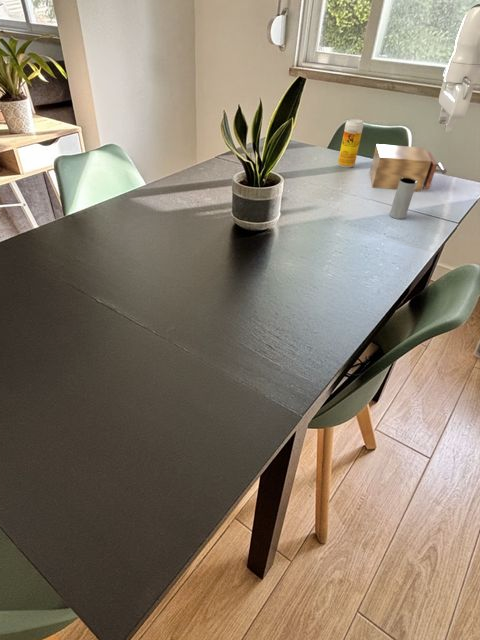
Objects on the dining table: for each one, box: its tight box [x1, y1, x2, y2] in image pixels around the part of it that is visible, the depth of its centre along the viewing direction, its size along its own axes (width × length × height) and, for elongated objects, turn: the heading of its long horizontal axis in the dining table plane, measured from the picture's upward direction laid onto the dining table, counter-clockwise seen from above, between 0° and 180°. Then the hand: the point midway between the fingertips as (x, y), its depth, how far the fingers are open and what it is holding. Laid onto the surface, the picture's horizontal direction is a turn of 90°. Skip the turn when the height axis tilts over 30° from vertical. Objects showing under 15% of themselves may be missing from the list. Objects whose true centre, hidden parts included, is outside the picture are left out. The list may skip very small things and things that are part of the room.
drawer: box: [423, 150, 447, 190], centre depth 142 cm, size 19×13×8 cm
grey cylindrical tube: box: [389, 178, 417, 220], centre depth 122 cm, size 4×4×10 cm
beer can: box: [337, 118, 364, 169], centre depth 153 cm, size 6×6×15 cm
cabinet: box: [369, 143, 431, 193], centre depth 143 cm, size 16×15×10 cm
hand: (444, 127), depth 131 cm, fingers open, 8 cm apart
